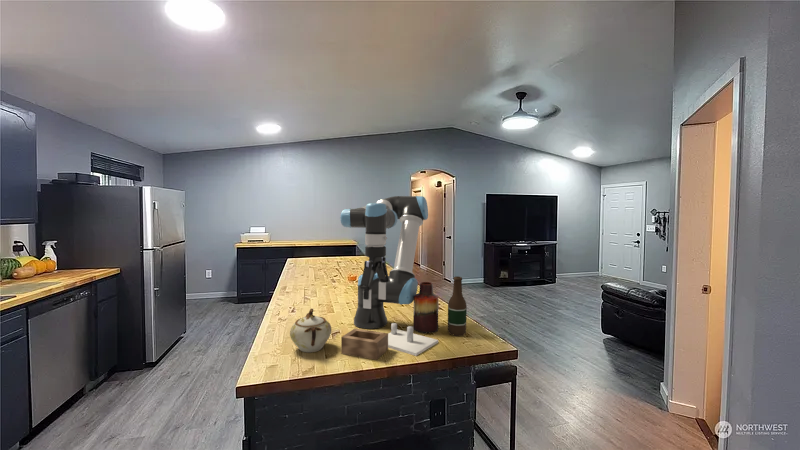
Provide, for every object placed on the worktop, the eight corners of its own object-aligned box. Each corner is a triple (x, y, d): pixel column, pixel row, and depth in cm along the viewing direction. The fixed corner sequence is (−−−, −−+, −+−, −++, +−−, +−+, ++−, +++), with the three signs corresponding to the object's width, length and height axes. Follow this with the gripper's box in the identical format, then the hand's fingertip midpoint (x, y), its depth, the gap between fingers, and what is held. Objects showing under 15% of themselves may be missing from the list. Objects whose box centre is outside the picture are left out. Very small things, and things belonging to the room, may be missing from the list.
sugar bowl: (335, 355, 122) (335, 313, 121) (291, 361, 117) (291, 318, 116) (327, 336, 140) (327, 300, 140) (288, 341, 135) (288, 303, 134)
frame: (341, 353, 124) (341, 337, 124) (354, 343, 133) (354, 328, 133) (376, 359, 119) (376, 342, 119) (388, 349, 128) (388, 333, 128)
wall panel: (373, 342, 134) (373, 326, 134) (397, 331, 147) (397, 316, 147) (415, 355, 122) (416, 337, 122) (438, 342, 135) (438, 326, 135)
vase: (409, 331, 148) (410, 284, 147) (417, 324, 158) (418, 279, 157) (434, 335, 144) (434, 286, 143) (440, 327, 154) (441, 281, 153)
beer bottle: (465, 337, 142) (467, 279, 141) (446, 335, 143) (447, 278, 142) (466, 330, 149) (467, 275, 148) (448, 329, 151) (449, 274, 150)
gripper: (370, 249, 112) (370, 313, 113) (397, 243, 136) (396, 296, 137) (350, 248, 115) (349, 311, 116) (379, 242, 138) (378, 295, 139)
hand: (375, 303), depth 126 cm, fingers open, 13 cm apart
